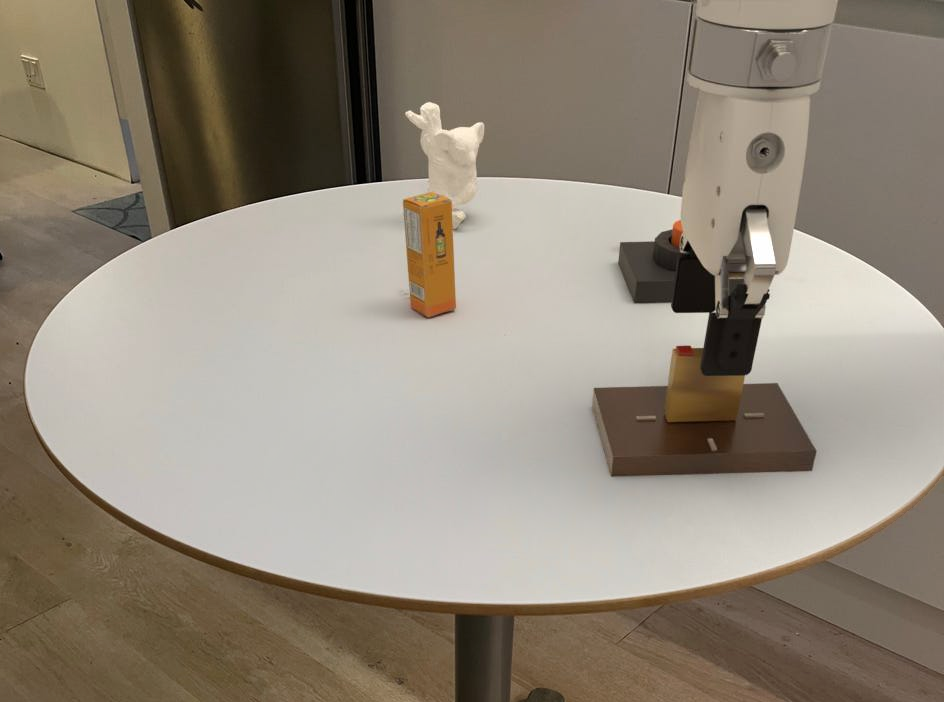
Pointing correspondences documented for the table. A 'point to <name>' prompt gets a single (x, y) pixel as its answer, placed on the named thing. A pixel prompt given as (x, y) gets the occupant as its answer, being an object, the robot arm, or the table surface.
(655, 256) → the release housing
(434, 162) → the white animal figurine
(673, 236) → the button
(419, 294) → the supplement box
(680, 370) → the red-tipped yellow slab
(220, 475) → the table surface
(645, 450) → the plate
